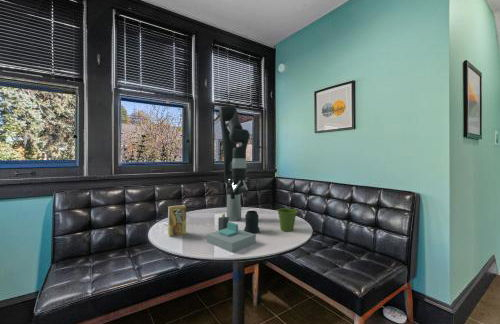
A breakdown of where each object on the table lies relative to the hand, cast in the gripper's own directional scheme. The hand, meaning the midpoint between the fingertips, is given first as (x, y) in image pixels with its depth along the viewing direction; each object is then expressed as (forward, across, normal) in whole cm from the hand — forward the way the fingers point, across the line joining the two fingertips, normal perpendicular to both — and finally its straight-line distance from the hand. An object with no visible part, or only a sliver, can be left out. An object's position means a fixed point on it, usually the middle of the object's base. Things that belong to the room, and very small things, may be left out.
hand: (239, 198), depth 119 cm
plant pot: (+21, -28, +11) cm, 37 cm away
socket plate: (+20, +8, +3) cm, 22 cm away
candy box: (+21, +21, -26) cm, 40 cm away
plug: (+20, 0, -12) cm, 24 cm away
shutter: (+16, +8, +1) cm, 18 cm away
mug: (+21, -13, -3) cm, 25 cm away
